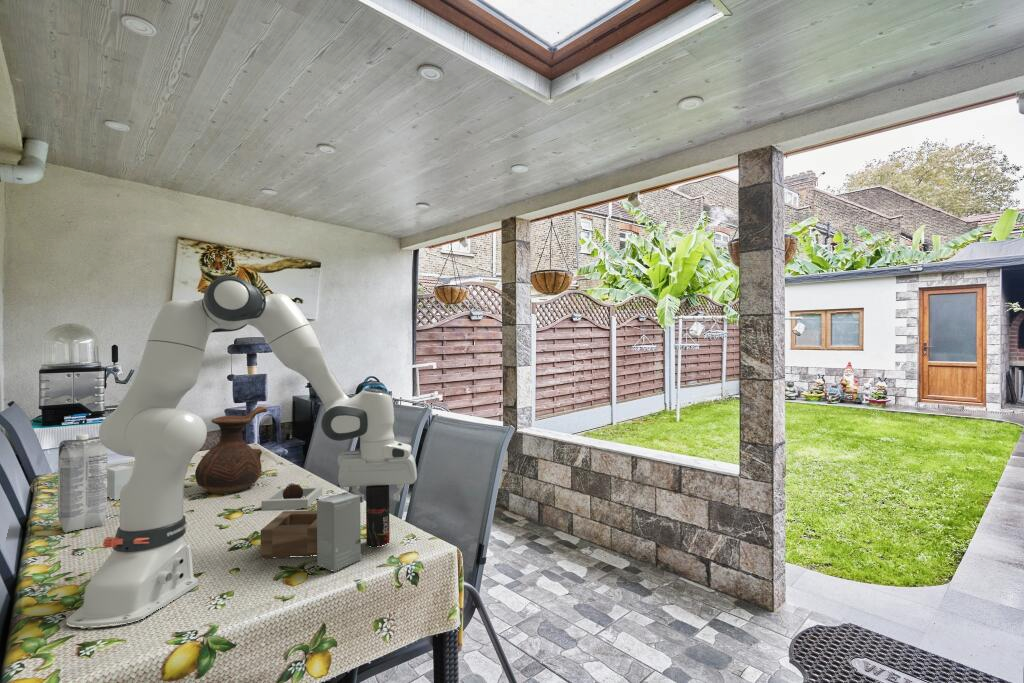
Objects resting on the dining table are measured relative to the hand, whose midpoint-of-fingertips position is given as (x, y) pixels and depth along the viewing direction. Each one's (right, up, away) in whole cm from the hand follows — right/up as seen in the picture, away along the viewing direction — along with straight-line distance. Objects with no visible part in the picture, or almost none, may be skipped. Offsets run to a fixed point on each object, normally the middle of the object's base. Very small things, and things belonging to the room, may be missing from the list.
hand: (378, 501), depth 128 cm
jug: (-70, -13, +51) cm, 87 cm away
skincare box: (-6, -11, -13) cm, 18 cm away
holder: (-20, -11, -2) cm, 23 cm away
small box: (-104, -13, +43) cm, 113 cm away
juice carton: (-91, -12, +14) cm, 93 cm away
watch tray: (-39, -12, +34) cm, 53 cm away
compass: (-39, -12, +33) cm, 53 cm away
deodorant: (0, -11, -1) cm, 11 cm away
